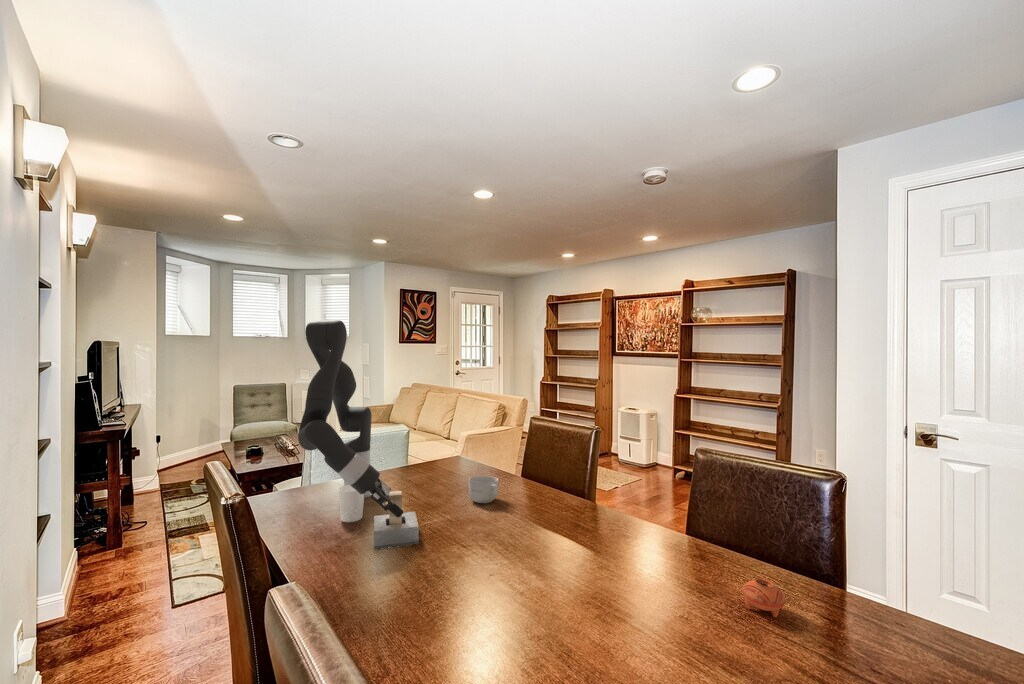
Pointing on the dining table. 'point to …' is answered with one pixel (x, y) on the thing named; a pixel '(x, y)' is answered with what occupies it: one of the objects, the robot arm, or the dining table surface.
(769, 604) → the footed terracotta jar
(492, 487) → the teacup
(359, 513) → the white cup
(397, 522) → the square wooden peg
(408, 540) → the grey square socket block
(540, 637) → the dining table surface
